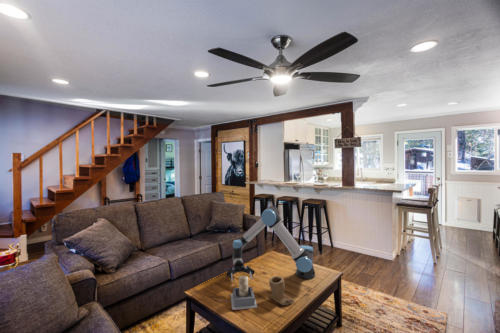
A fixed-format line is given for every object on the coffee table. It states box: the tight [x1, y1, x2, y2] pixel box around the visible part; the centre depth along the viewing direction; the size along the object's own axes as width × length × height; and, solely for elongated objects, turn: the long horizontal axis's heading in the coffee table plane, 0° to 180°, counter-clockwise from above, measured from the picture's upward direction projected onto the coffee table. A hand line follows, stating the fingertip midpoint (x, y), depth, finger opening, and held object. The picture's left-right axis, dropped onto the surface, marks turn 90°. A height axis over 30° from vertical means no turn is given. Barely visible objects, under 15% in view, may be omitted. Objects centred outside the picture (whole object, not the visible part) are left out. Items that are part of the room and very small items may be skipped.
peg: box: [238, 275, 249, 298], centre depth 159 cm, size 6×6×15 cm
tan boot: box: [268, 275, 295, 306], centre depth 159 cm, size 15×12×15 cm
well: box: [230, 286, 258, 311], centre depth 159 cm, size 16×16×6 cm
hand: (241, 278), depth 166 cm, fingers open, 13 cm apart
